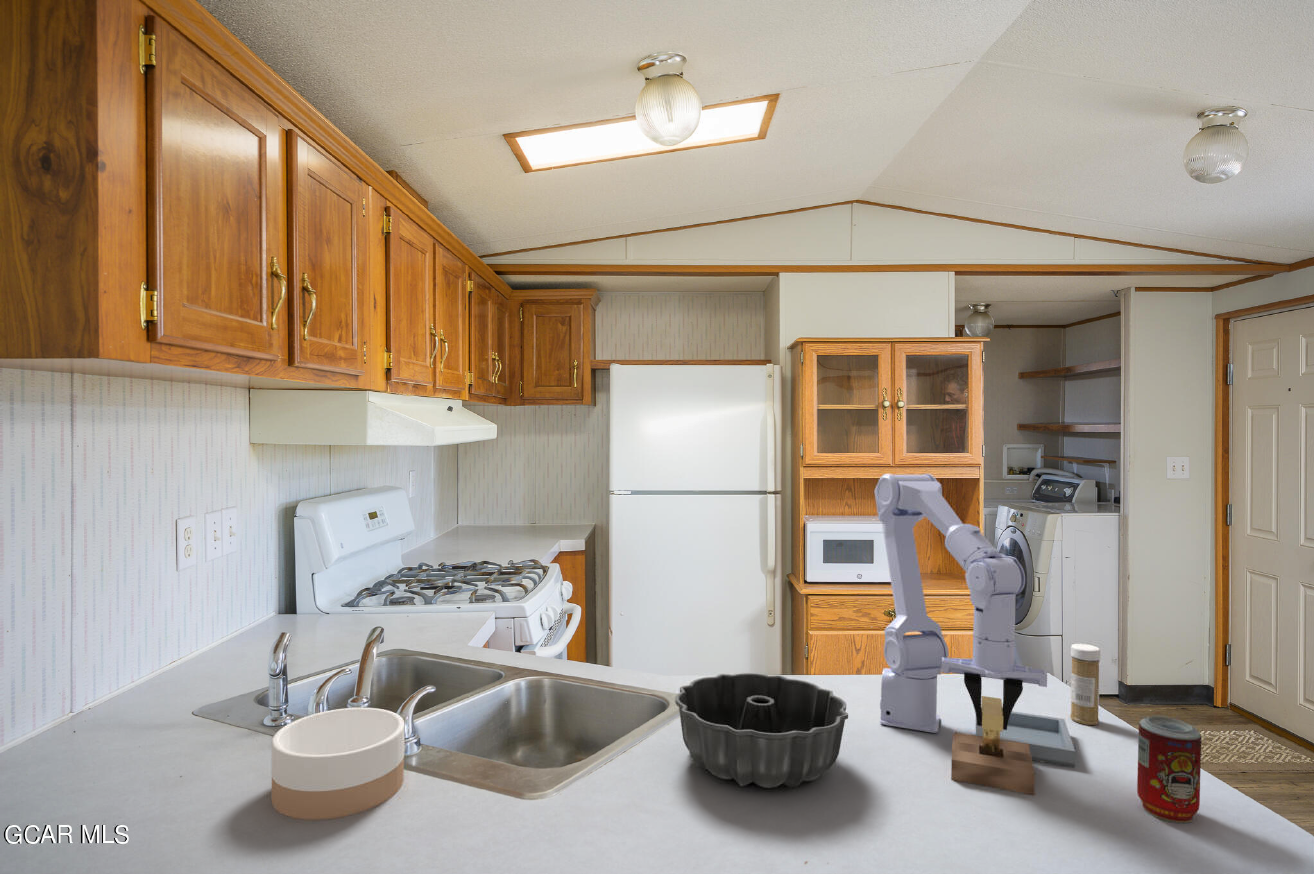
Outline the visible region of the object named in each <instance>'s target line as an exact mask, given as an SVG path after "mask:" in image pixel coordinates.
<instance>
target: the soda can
mask: <svg viewBox="0 0 1314 874" xmlns="http://www.w3.org/2000/svg"><path fill="white" fill-rule="evenodd" d="M1202 739H1203V738H1202V734H1201V733H1200V732H1199V730H1197V728H1195V727H1194V726H1192V725H1191V724H1190V723H1187V722H1186V721H1185V722H1184V721H1183V720H1180V719H1177V718H1173V717H1169V716H1163V715H1151V716H1146V717H1145V718H1142V719H1140V721H1139V722H1138V741H1137V742H1138V743H1137V779H1136V781H1137V782H1136V783H1137V785H1136V787H1137V789H1136V792H1137V796H1138V797H1139V800H1140V802H1141V804H1142V808H1143V809H1144V811H1146V813H1149V815H1151V816H1153V817H1156V818H1157V819H1161V820H1164V821H1168V822H1172V823H1177V824H1179V823H1180V824H1184V823H1187V824H1188V823H1190V822H1192V821H1193V819H1194V816H1195V815H1196V814H1197V813H1198V811H1199V810H1200V804H1201V761H1202V758H1201V757H1202Z"/></svg>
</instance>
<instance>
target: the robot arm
mask: <svg viewBox="0 0 1314 874" xmlns="http://www.w3.org/2000/svg"><path fill="white" fill-rule="evenodd" d="M873 492H874V496H875V497H874V498H875V503H876V510H877V516H878V518H877V519H878V521H879V522H880V523H881V525H882V531H883V538H884V544H885V552H886V557H887V558H886V559H887V564H888V565H887V566H888V571H889V577H890V585H891V591H892V598H893V604H894V609H895V611H894V612H895V615H896V616H895V618H894V619H893V620H892V621H891V622H890V623H889V624H888V625H887V626H886V628H884V630H883V631H884V645H883V655H884V659H885V663H886V664H887V665H888V667H885V668H883V669H882V675H881V682H880V683H881V688H880V690H881V691H880V702H879V709H880V721H879V723H880V725H885V726H891V727H898V728H902V729H909V730H913V731H914V730H915V731H921V732H927V733H933V734H938V732H939V727H940V715H939V714H938V713H937V709H938V708H937V706H938V705H937V704H938V676H939V675H942V674H948V675H949V674H958V675H963V677H964V678H963V683H964V685H965V688H966V690H967V692H968V694H969V698H970V699H971V701H972V705H973V708H974V713H975V720H976V719H977V725H978V726H982V709H981V705H982V689H983V688H982V687H983V686H982V678H988V679H993V680H1002V683H1003V685H1002V686H1003V687H1002V688H1003V689H1002V696H1003V697H1002V710H1003V730H1007V725H1008V721H1009V717H1010V714H1011V712H1012V711H1013V709H1014V707H1015V705H1016V703H1017V702H1018V700H1019V698H1020V696H1021V695H1022V693H1023V690H1024V689H1023V688H1024V686H1023V684H1025V683H1026V684H1030V685H1038V686H1039V687H1042V688H1047V687H1048V673H1047V670H1045V669H1038V668H1033V667H1028V666H1023V665H1020V664H1019V665H1018V664H1015V638H1016V637H1015V634H1016V632H1015V630H1016V595H1019V594H1020V593H1021V592H1022V591H1023V589H1024V588H1025V583H1026V575H1025V570H1024V568H1023V566H1022V564H1021V563H1020V562H1019V560H1018V559H1017V558H1016V557H1014V556H1010V555H1005V554H1004V553H1000V552H999V551H998V549H996V547H994V546H993V544H991V542H990V541H989V540H988V539H987V538H986V537H985V536H984V535H983V533H982V532H981V529H980V528H979V527H978V526H977V525H973V524H970V523H963V522H962V520H961V519H960V517H959V516H958V515H957V514H956V512H955V511H954V509H952V506H950V504H949V503H948V501H947V500H946V499H945V497H944V496H943V487H942V483H940V482H939V481H938V480H937V479H936V477H935V476H934V475H933V474H931V473H924V474H892V473H884V474H883V475H882V476H881V477H879V479H878V481H877V484H876V486H875V489H874V490H873ZM924 518H926V519H928V521H930V522H931V524H932V525H933V526H934V527H935V528H937V530H939V531H940V532H941V533H942V535H943V536H944V537H945V538H944V546H945V548H946V550H947V551H948V552H949V553H950V555H951V556H952V557H953V558H954V559H955V560H956V562H957V563H958V565H960V567H961V568H962V569H963V570H964V572H965V581H966V585H967V588H968V590H969V593H970V599H969V600H970V603H971V605H972V606H973V628H972V629H973V631H972V632H973V634H972V658H961V657H960V658H957V657H955V658H954V657H949V648H948V644H947V642H946V640H945V639H944V636H943V632H942V628H941V627H942V626H941V625H940V624H939V623H937V622H936V621H935V620H933V619H932V618H931V617H930V616H929V615H928V612H927V608H926V606H927V605H926V601H925V595H924V590H923V583H922V577H921V569H920V564H919V559H918V557H919V556H918V553H917V547H916V545H917V544H916V540H915V534H914V528H915V526H916V524H917V522H918V523H919V522H920V521H921V520H923V519H924ZM911 632H913V633H914V632H918V633H919V634H907V633H911ZM905 634H906V635H905Z"/></svg>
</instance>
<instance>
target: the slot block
mask: <svg viewBox="0 0 1314 874" xmlns="http://www.w3.org/2000/svg"><path fill="white" fill-rule="evenodd" d="M951 748H952V749H951V770H950V771H951V775H950V779H951V780H952V781H957V782H961V783H962V782H964V783H968V784H972V785H973V784H974V785H978V786H985V787H989V788H995V789H1000V790H1007V791H1010V792H1016V793H1021V794H1026V795H1027V794H1028V795H1031V796H1032V795H1033V796H1035V769H1034V768H1035V767H1034V763H1033V760H1032V758H1031V752H1030V747H1029V744H1025V743H1019V742H1012V741H1006V740H1000V751H999V752H989V751H986V750H984V749H983V737H982V736H976V734H975V735H974V734H969V733H961V732H957V731H953V732H952V746H951Z"/></svg>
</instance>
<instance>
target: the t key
mask: <svg viewBox="0 0 1314 874" xmlns="http://www.w3.org/2000/svg"><path fill="white" fill-rule="evenodd" d="M1002 707H1003V700H1002V698H1000V697H999V698H998V697H993V696H992V697H991V696H986V695H985V696H984V695H981V709H982V728H983V749H984V750H986V751H989V752H999V751H1000V731H1002V732H1003V710H1002Z"/></svg>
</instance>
